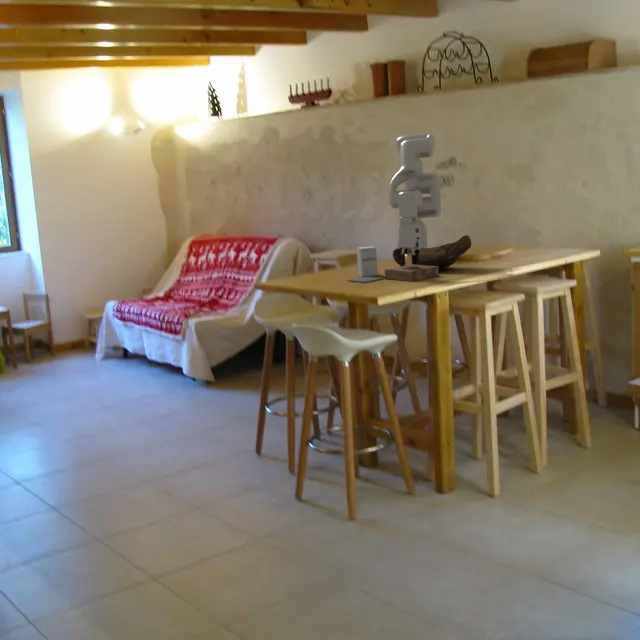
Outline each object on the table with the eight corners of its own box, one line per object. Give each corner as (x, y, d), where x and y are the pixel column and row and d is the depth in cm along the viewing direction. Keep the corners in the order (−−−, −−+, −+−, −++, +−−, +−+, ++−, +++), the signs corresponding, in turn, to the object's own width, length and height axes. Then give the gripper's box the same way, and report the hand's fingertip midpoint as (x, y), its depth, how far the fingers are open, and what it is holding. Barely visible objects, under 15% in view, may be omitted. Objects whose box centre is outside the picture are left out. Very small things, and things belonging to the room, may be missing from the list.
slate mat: (366, 277, 360) (366, 276, 360) (383, 279, 351) (383, 277, 351) (347, 281, 353) (347, 280, 353) (363, 283, 344) (363, 281, 344)
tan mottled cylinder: (412, 276, 354) (410, 253, 352) (420, 276, 350) (418, 253, 348) (403, 277, 351) (402, 254, 349) (411, 278, 347) (410, 254, 345)
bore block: (412, 273, 362) (412, 264, 361) (438, 275, 349) (438, 266, 348) (385, 278, 352) (384, 269, 351) (411, 281, 340) (410, 271, 339)
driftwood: (478, 268, 361) (477, 234, 359) (453, 274, 349) (452, 239, 346) (413, 265, 388) (411, 233, 385) (387, 271, 375) (385, 238, 372)
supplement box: (362, 277, 363) (360, 248, 361) (358, 275, 370) (356, 247, 368) (378, 275, 364) (376, 246, 362) (373, 273, 371) (372, 245, 369)
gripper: (429, 220, 342) (431, 263, 345) (401, 219, 355) (403, 261, 358) (416, 222, 337) (418, 266, 341) (388, 221, 351) (390, 264, 354)
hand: (411, 263), depth 349 cm, fingers closed on tan mottled cylinder, 5 cm apart
